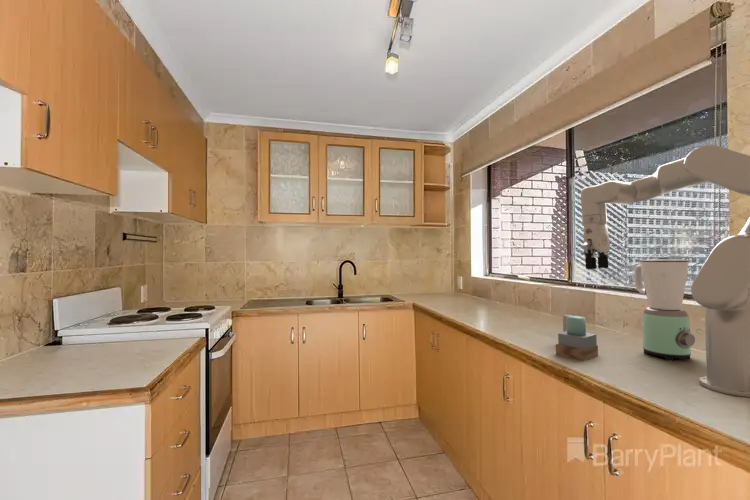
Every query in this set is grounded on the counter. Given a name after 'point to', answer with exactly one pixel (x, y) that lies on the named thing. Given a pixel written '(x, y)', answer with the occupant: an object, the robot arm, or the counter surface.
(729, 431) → the counter surface
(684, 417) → the counter surface
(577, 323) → the teal cylinder
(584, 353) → the tower base block
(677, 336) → the mint green blender
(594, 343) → the tower top block
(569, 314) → the energy drink
